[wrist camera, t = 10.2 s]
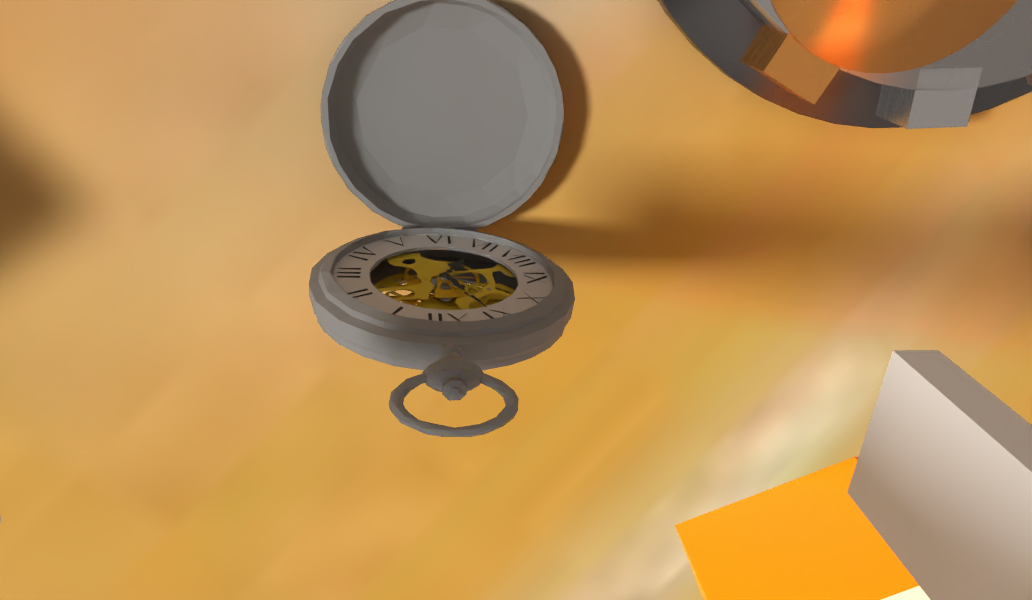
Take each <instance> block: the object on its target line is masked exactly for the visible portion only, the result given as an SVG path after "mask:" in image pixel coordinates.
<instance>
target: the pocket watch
mask: <svg viewBox="0 0 1032 600" xmlns="http://www.w3.org/2000/svg"><path fill="white" fill-rule="evenodd" d="M563 121H564V109H563V99H562V90H561V87H560V83H559V79H558V76H557V72H556V70H555V68H554V66H553V64H552V62H551V60H550V58H549V56H548V54H547V52H546V51H545V49H544V47H543V45H542V44H541V43H540V41H539V40H538V38H537V37H536V35H535V34H534V33H533V31H532V30H531V29H529V28H528V27H527V26H526V25H524V24H523V23H522V22H521V21H519V20H518V19H517V18H516V17H514V16H513V15H512V14H511V13H509V12H508V11H507V10H506V9H504V8H503V7H501V6H500V5H498V4H496V3H495V2H493V1H490V0H394V1H392V2H389V3H388V4H386V5H385V6H383V7H381V8H379V9H377V10H375V11H373V12H371V13H370V14H368V15H366V16H365V17H364V18H363V19H362V20H361V21H360V22H359V23H358V25H357V26H356V27H355V28H354V29H353V30H352V31H351V32H350V33H349V34H348V35H347V36H346V37H345V38H344V40H343V41H342V43H341V44H340V46H339V47H338V49H337V51H336V53H335V55H334V57H333V59H332V61H331V63H330V65H329V68H328V72H327V76H326V80H325V84H324V88H323V91H322V99H321V123H322V128H323V134H324V139H325V144H326V149H327V152H328V154H329V156H330V159H331V161H332V163H333V166H334V167H335V169H336V170H337V172H338V173H339V175H340V176H341V178H342V179H343V181H344V183H345V184H346V186H347V187H348V189H349V190H350V191H351V192H352V193H353V194H354V195H355V196H356V197H358V198H359V199H360V200H361V201H362V202H363V203H364V204H365V205H366V206H367V207H368V208H370V209H371V210H372V211H373V212H375V213H377V214H378V215H380V216H382V217H384V218H385V219H387V220H389V221H391V222H393V223H396V224H398V225H400V226H403V227H402V229H401V230H391V231H384V232H380V233H376V234H372V235H369V236H365V237H361V238H358V239H356V240H353V241H351V242H349V243H347V244H344V245H342V246H340V247H339V248H337V249H335V250H333V251H331V252H329V253H327V254H326V255H325V256H324V257H323V258H322V259H321V260H320V261H319V262H318V263H317V264H316V265H315V266H314V267H313V268H312V271H311V276H310V282H309V296H310V300H311V303H312V306H313V310H314V313H315V315H316V317H317V320H318V323H319V324H320V326H321V328H322V329H323V331H324V332H325V333H326V334H328V335H329V336H330V337H331V338H332V339H333V340H335V341H336V342H337V343H338V344H340V345H342V346H344V347H346V348H348V349H350V350H352V351H353V352H355V353H357V354H359V355H361V356H363V357H367V358H370V359H373V360H376V361H380V362H383V363H386V364H389V365H393V366H398V367H405V368H411V369H418V370H424V371H423V374H420V375H417V376H414V377H411V378H408V379H406V380H405V381H404V382H403V383H401V384H400V385H399V386H398V387H397V388H396V389H395V390H393V391H392V392H391V396H390V400H389V406H390V409H391V412H392V413H393V414H394V415H395V417H396V418H397V419H398V420H399V421H400V422H401V423H402V424H404V425H406V426H408V427H411V428H413V429H415V430H418V431H420V432H422V433H425V434H428V435H435V436H441V437H472V436H477V435H483V434H486V433H488V432H491V431H493V430H495V429H498V428H500V427H502V426H504V425H505V424H506V423H508V422H509V421H510V420H512V419H513V418H514V416H515V415H516V413H517V411H518V397H517V395H516V393H515V392H514V390H513V389H511V388H510V387H509V386H508V385H506V384H505V383H504V382H503V381H501V380H499V379H496V378H494V377H492V376H489V375H487V374H484V373H483V371H482V370H487V369H492V368H497V367H503V366H508V365H512V364H515V363H518V362H521V361H523V360H526V359H529V358H532V357H534V356H536V355H537V354H539V353H541V352H543V351H545V350H546V349H548V348H550V347H551V346H552V345H553V344H554V343H555V342H556V341H557V340H558V339H559V338H560V337H561V336H562V334H563V331H564V328H565V326H566V324H567V323H568V321H569V320H570V318H571V314H572V310H573V305H574V300H575V297H574V290H573V282H572V281H571V280H570V278H569V277H568V276H567V274H566V273H565V272H564V270H563V269H562V268H560V267H559V266H558V265H556V264H555V263H553V262H552V261H551V260H549V259H548V258H547V257H545V256H544V255H543V254H541V253H539V252H537V251H535V250H533V249H531V248H529V247H527V246H526V245H524V244H521V243H518V242H515V241H512V240H509V239H506V238H503V237H500V236H495V235H491V234H487V233H482V232H477V231H476V230H474V229H478V228H482V227H485V226H487V225H489V224H491V223H493V222H495V221H497V220H499V219H501V218H503V217H505V216H507V215H509V214H511V213H513V212H514V211H515V210H516V209H517V208H519V207H520V206H521V205H522V204H523V203H525V202H526V201H527V200H528V199H529V198H530V197H531V195H532V194H533V193H534V192H535V191H536V190H537V189H538V188H539V186H540V185H541V184H542V182H543V180H544V179H545V177H546V175H547V173H548V172H549V170H550V168H551V166H552V165H553V163H554V161H555V158H556V155H557V152H558V148H559V145H560V141H561V137H562V132H563ZM403 283H405V284H406V285H400V284H403ZM465 283H466V284H467V283H469V284H471V285H469V284H467V285H466V284H465ZM454 286H455V287H454ZM476 286H481V287H482V288H481V287H476ZM388 290H389V291H390V290H391V291H390V292H389V291H388ZM392 290H393V291H392ZM396 290H408V291H412V292H413V293H411V294H409V295H407V296H403V295H401V294H398V293H396V292H394V291H396ZM383 291H388V292H387V293H386V294H383V293H381V292H383ZM389 293H391V294H394V295H397V296H388V295H389ZM430 293H433V294H434V295H432V294H430ZM429 295H430V296H429ZM417 300H420V301H421V302H417ZM400 301H402V302H400ZM415 304H418V305H415ZM422 383H426V385H427V386H429V387H431V388H433V389H434V390H436V391H440V392H442V394H443V395H444V396H445V397H446V398H447V399H448V400H461V399H462V398H463V397H464V396H465V395H466V393H467V391H469V390H472V389H474V388H475V387H477V386H478V385H480V383H482V384H484V385H486V386H488V387H491V388H492V389H494V390H496V391H497V392H498V393H499V394H500V395H501V396H503V398H504V401H505V404H506V407H505V408H504V409H503V410H502V411H501V412H500V413H499V415H498V416H497V417H495V418H493V419H491V420H489V421H486V422H484V423H481V424H477V425H471V426H464V427H457V428H453V427H448V426H443V425H438V424H433V423H428V422H424V421H421V420H418V419H417V418H415V417H414V416H413V415H412V414H410V413H409V412H408V411H407V410H406V409H405V407H404V405H403V401H404V398H405V396H406V395H407V394H408V393H409V392H410V391H411V390H412V389H414V388H415V387H417V386H419V385H420V384H422Z"/></svg>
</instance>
